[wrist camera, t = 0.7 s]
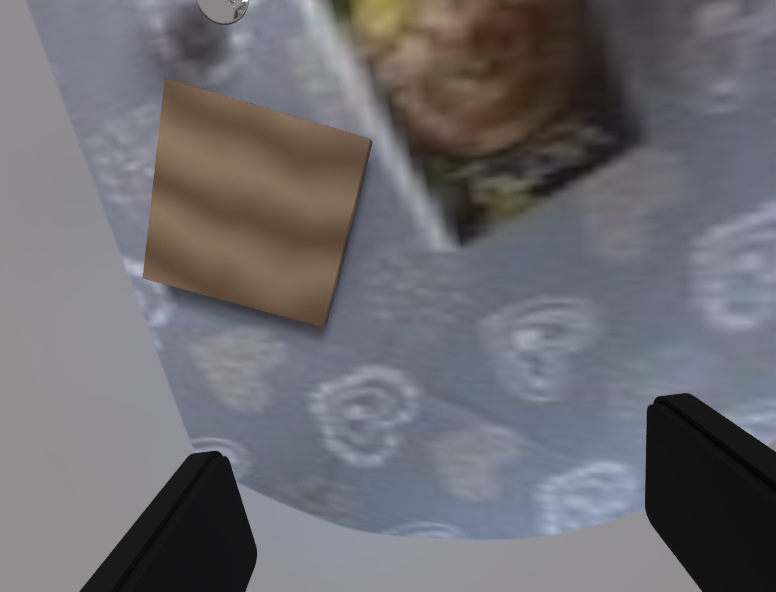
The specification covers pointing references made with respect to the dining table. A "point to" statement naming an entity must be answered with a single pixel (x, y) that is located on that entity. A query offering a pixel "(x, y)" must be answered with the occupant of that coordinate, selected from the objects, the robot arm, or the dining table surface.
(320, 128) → the stand
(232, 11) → the wineglass
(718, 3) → the dining table surface
